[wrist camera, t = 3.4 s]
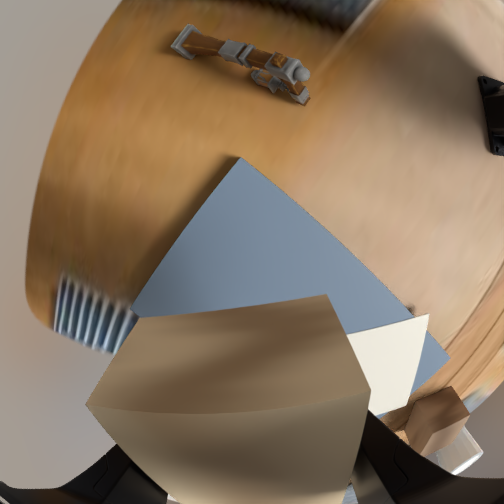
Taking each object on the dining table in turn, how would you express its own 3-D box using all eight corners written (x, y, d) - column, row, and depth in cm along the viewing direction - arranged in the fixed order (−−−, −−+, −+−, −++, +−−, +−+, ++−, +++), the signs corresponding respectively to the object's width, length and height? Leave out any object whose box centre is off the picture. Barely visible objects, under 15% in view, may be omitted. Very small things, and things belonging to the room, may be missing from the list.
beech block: (326, 293, 8) (371, 390, 4) (327, 436, 10) (340, 505, 7) (140, 317, 8) (85, 404, 5) (204, 447, 11) (194, 513, 7)
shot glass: (451, 443, 26) (465, 471, 20) (422, 453, 26) (435, 485, 20) (473, 417, 24) (491, 446, 18) (445, 427, 24) (463, 461, 18)
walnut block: (451, 385, 21) (470, 414, 16) (437, 416, 23) (452, 443, 18) (415, 400, 22) (432, 433, 17) (403, 429, 23) (416, 459, 19)
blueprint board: (129, 310, 18) (123, 318, 17) (253, 144, 14) (252, 142, 13) (351, 434, 23) (353, 442, 22) (456, 348, 19) (461, 354, 18)
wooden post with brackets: (312, 122, 13) (293, 82, 9) (207, 76, 15) (168, 45, 11) (328, 97, 13) (315, 52, 9) (222, 56, 15) (186, 21, 11)
